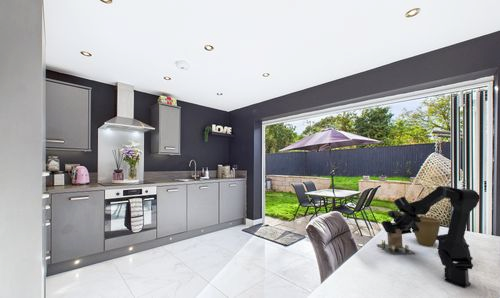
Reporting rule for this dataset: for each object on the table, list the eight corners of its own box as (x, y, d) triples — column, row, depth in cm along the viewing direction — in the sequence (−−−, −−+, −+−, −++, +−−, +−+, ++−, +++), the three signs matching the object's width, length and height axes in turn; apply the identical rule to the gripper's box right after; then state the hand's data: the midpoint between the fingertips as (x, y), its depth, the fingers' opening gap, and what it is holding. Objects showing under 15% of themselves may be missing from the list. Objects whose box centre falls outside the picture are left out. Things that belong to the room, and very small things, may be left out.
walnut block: (402, 248, 122) (401, 224, 123) (394, 248, 122) (392, 224, 123) (396, 245, 127) (394, 222, 128) (388, 245, 127) (386, 222, 128)
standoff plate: (415, 254, 118) (414, 246, 119) (392, 254, 118) (392, 247, 118) (397, 245, 131) (396, 239, 132) (376, 245, 130) (376, 239, 131)
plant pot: (448, 249, 127) (447, 221, 129) (423, 248, 128) (421, 220, 129) (428, 240, 142) (427, 215, 143) (405, 240, 142) (404, 215, 144)
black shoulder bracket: (478, 265, 103) (458, 232, 109) (447, 267, 113) (431, 236, 120) (481, 263, 104) (461, 231, 111) (450, 265, 114) (434, 236, 121)
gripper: (414, 206, 123) (400, 221, 133) (383, 206, 122) (371, 221, 132) (427, 224, 115) (411, 239, 125) (393, 224, 113) (380, 239, 123)
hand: (392, 234), depth 126 cm, fingers closed on walnut block, 5 cm apart
